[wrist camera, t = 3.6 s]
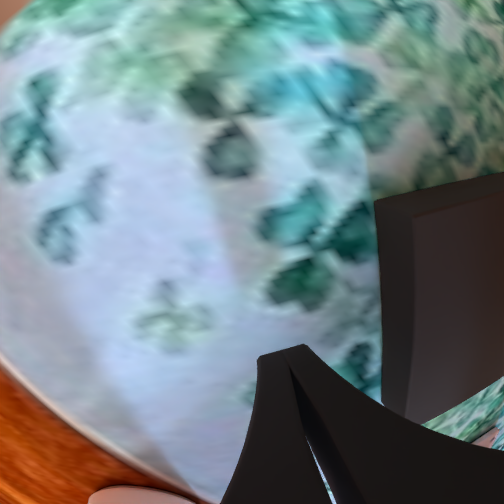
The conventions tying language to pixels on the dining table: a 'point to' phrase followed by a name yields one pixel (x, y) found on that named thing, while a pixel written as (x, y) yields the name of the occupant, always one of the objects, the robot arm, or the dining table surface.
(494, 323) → the tab pad
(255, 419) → the robot arm
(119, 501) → the can
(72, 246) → the dining table surface
